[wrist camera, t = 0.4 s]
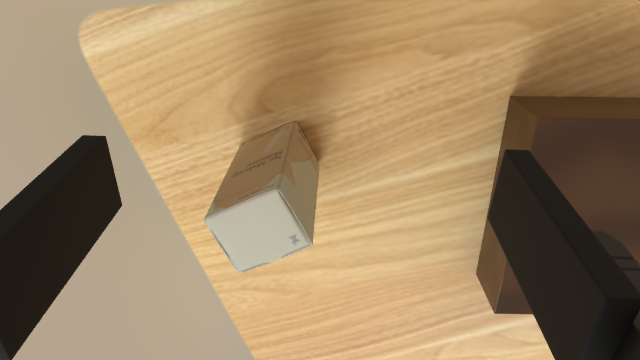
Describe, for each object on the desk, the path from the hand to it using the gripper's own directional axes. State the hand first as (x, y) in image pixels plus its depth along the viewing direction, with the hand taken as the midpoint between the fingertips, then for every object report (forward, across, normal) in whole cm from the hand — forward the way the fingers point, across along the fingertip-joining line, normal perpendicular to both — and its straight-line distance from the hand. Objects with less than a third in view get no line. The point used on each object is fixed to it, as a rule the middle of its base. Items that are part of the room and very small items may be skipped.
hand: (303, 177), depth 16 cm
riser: (+18, +21, -12) cm, 30 cm away
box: (+19, -3, -9) cm, 21 cm away
